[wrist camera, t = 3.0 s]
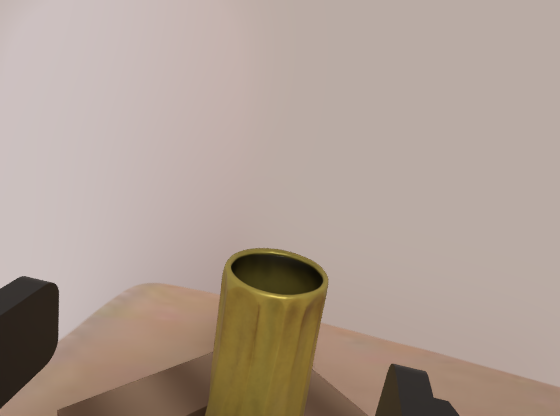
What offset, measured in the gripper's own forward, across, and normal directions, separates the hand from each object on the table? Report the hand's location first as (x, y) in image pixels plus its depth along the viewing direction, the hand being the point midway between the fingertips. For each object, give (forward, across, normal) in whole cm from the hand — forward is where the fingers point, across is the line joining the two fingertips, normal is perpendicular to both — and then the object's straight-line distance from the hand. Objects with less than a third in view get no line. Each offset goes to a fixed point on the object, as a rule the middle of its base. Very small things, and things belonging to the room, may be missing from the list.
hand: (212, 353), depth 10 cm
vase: (+12, 0, +18) cm, 21 cm away
